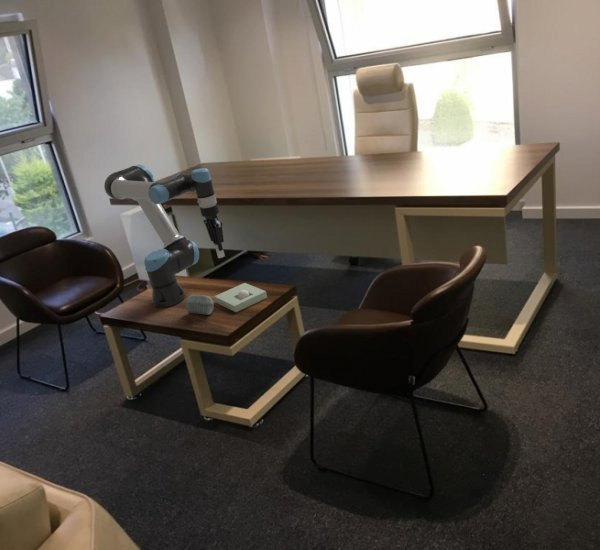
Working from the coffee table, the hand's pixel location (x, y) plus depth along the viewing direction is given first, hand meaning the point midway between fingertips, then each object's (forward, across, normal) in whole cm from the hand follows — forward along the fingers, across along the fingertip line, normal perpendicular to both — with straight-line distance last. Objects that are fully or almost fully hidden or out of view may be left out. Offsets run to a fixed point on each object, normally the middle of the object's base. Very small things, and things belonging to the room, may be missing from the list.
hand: (221, 256), depth 258 cm
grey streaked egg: (+19, +4, -17) cm, 26 cm away
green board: (+19, +9, 0) cm, 21 cm away
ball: (+16, +12, 0) cm, 20 cm away
